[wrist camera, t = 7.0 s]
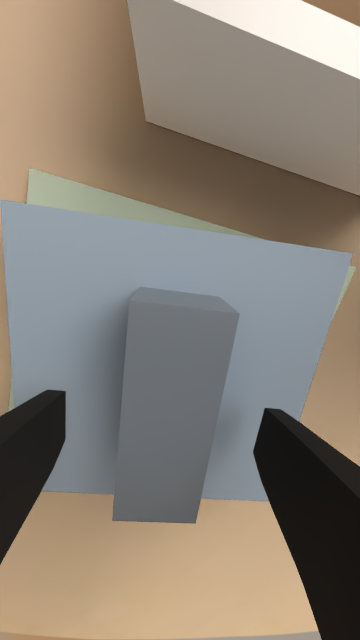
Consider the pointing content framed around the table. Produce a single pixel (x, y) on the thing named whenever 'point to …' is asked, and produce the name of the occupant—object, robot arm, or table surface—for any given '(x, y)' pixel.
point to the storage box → (257, 79)
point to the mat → (117, 212)
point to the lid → (161, 350)
